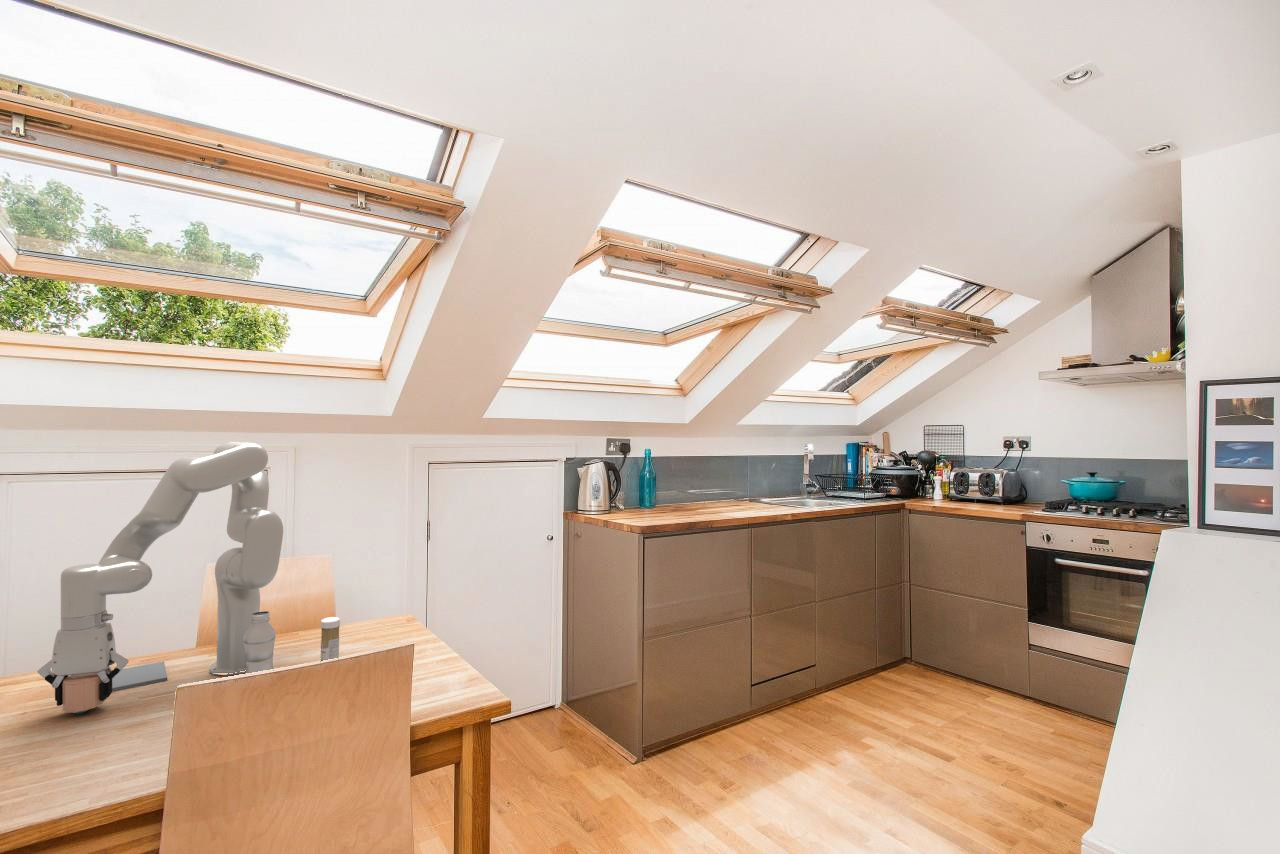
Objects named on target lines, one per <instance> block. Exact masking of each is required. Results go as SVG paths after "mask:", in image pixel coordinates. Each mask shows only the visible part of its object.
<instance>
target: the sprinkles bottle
mask: <svg viewBox="0 0 1280 854" xmlns="http://www.w3.org/2000/svg"><path fill="white" fill-rule="evenodd" d="M340 627H341V618H340V617H337V616H330V617H329V616H328V617H324V618H323V619H321V621H320V628H321V631H320V632H321V633H320V634H321V639H320V640H321V641H320V662H321V661H323V660H328V659H334V658H338V659H339V657H340Z"/></svg>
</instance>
